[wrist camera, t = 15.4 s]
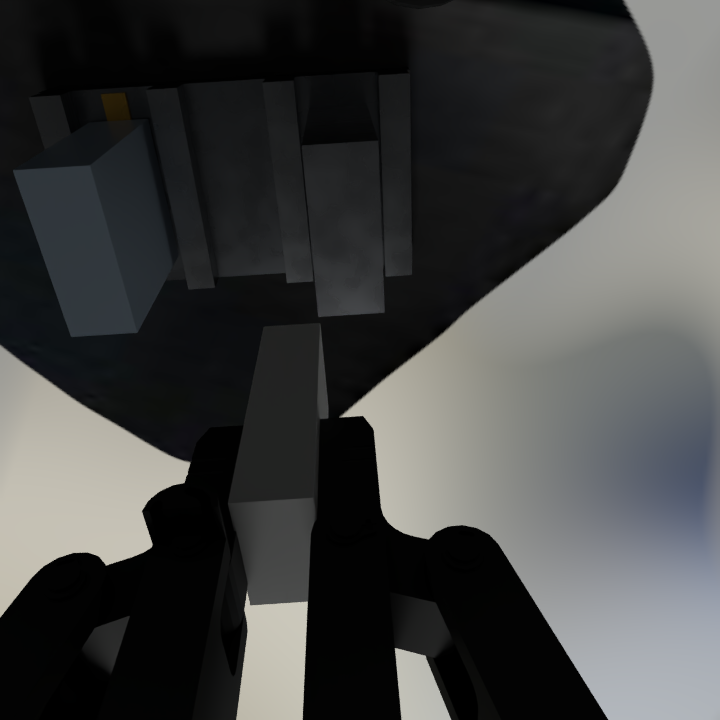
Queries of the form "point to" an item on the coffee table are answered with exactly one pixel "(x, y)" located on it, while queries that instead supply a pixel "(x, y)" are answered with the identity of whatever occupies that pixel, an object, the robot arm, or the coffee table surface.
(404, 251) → the rack
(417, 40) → the coffee table surface
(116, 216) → the gray rectangular block
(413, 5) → the coffee cup
